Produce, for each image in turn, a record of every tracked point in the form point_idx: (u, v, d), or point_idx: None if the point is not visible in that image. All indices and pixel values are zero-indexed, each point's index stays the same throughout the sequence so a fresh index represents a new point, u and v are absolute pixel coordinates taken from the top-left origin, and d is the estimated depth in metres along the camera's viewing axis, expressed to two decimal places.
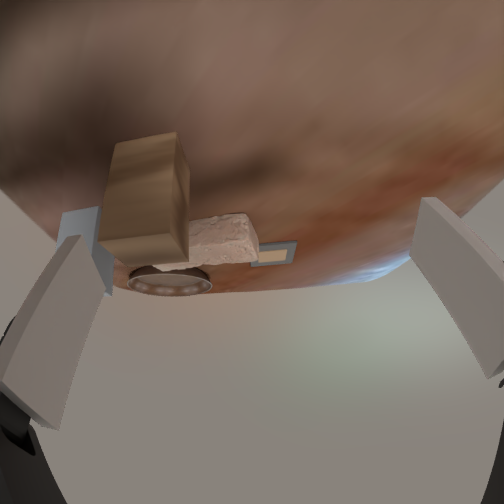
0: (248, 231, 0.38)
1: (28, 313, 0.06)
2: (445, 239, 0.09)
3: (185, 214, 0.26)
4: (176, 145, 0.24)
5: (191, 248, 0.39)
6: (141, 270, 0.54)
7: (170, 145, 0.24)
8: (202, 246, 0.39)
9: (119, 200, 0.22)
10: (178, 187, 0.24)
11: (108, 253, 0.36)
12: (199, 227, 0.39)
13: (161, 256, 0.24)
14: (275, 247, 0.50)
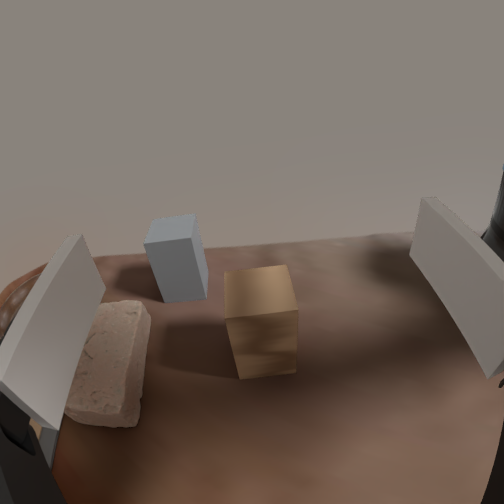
0: (124, 418, 0.23)
1: (28, 313, 0.06)
2: (445, 239, 0.09)
3: (247, 345, 0.26)
4: (292, 366, 0.29)
5: (128, 349, 0.29)
6: None
7: None
8: (126, 362, 0.28)
9: None
10: (277, 349, 0.27)
11: (167, 275, 0.37)
12: (140, 373, 0.29)
13: (245, 298, 0.25)
14: (46, 441, 0.22)
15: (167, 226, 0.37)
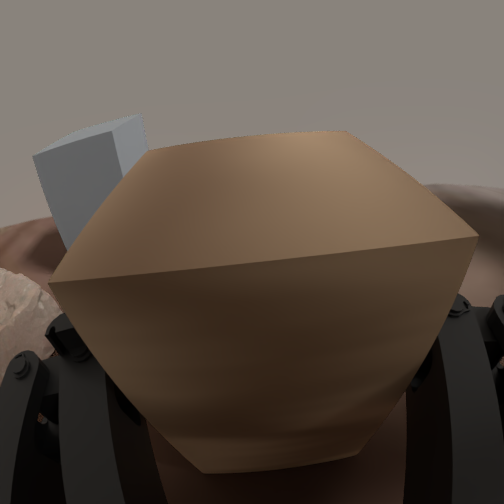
0: None
1: None
2: None
3: (205, 417, 0.06)
4: (352, 447, 0.08)
5: None
6: None
7: None
8: None
9: None
10: (326, 422, 0.06)
11: (77, 223, 0.17)
12: None
13: (190, 197, 0.05)
14: None
15: (85, 131, 0.17)
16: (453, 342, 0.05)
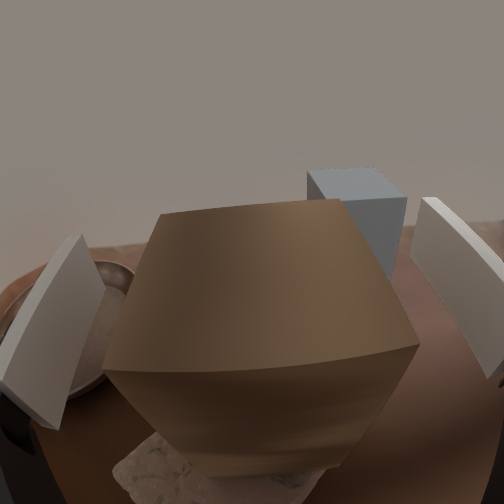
0: None
1: (28, 313, 0.06)
2: (445, 239, 0.09)
3: (212, 441, 0.07)
4: (333, 462, 0.10)
5: None
6: None
7: None
8: (304, 480, 0.11)
9: None
10: (306, 445, 0.08)
11: None
12: None
13: (201, 294, 0.06)
14: None
15: (346, 180, 0.21)
16: None
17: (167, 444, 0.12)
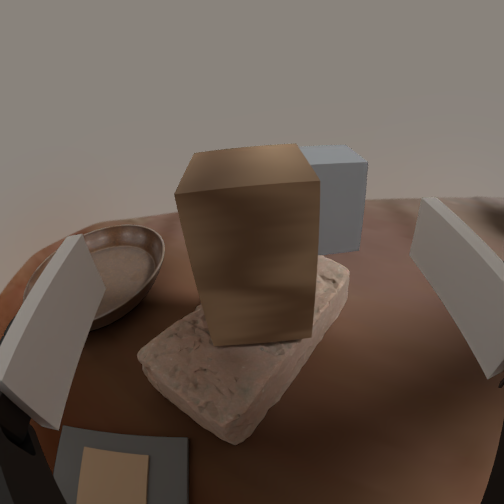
0: (225, 434, 0.14)
1: (28, 313, 0.06)
2: (445, 239, 0.09)
3: (221, 267, 0.14)
4: (305, 324, 0.17)
5: None
6: (157, 252, 0.32)
7: None
8: (286, 351, 0.17)
9: None
10: (279, 281, 0.15)
11: (324, 215, 0.28)
12: (294, 373, 0.19)
13: (220, 172, 0.13)
14: (167, 498, 0.12)
15: (322, 152, 0.28)
16: None
17: (182, 330, 0.19)
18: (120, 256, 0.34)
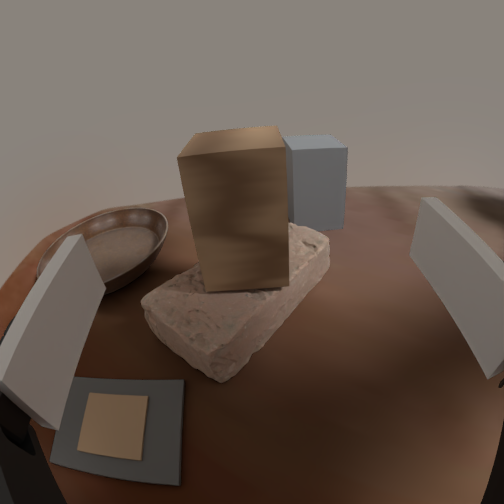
0: (210, 365, 0.18)
1: (28, 313, 0.06)
2: (445, 239, 0.09)
3: (212, 216, 0.18)
4: (282, 272, 0.20)
5: None
6: (161, 230, 0.36)
7: None
8: (267, 297, 0.21)
9: None
10: (258, 229, 0.19)
11: (309, 194, 0.32)
12: (276, 322, 0.22)
13: (213, 144, 0.17)
14: (162, 435, 0.16)
15: (307, 140, 0.32)
16: None
17: (181, 281, 0.23)
18: (127, 235, 0.37)
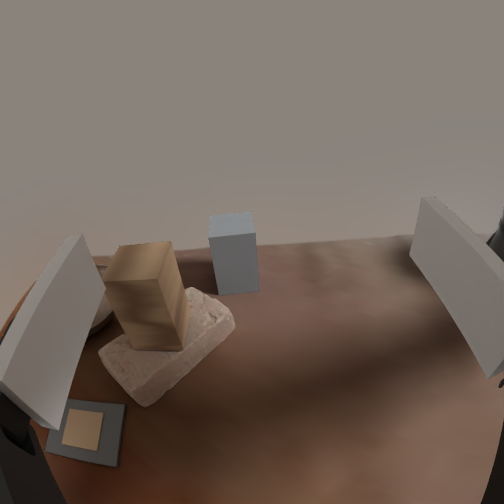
0: (134, 397, 0.27)
1: (28, 313, 0.06)
2: (445, 239, 0.09)
3: (126, 312, 0.27)
4: (176, 342, 0.30)
5: None
6: None
7: (180, 337, 0.30)
8: (172, 357, 0.30)
9: (175, 276, 0.30)
10: (154, 319, 0.28)
11: (227, 268, 0.41)
12: (182, 371, 0.32)
13: (122, 267, 0.27)
14: (109, 437, 0.25)
15: (227, 222, 0.41)
16: None
17: (123, 340, 0.32)
18: None
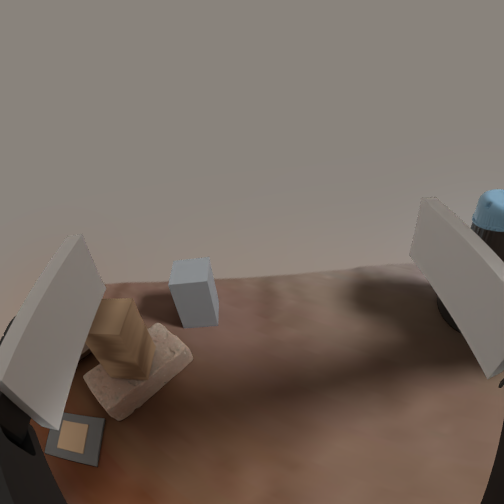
0: (109, 414, 0.33)
1: (28, 313, 0.06)
2: (445, 239, 0.09)
3: (101, 353, 0.33)
4: (141, 375, 0.35)
5: None
6: None
7: (144, 371, 0.36)
8: (137, 384, 0.36)
9: (138, 325, 0.36)
10: (122, 359, 0.33)
11: (187, 308, 0.47)
12: (147, 394, 0.37)
13: (95, 321, 0.32)
14: (92, 443, 0.31)
15: (186, 269, 0.46)
16: None
17: (102, 367, 0.38)
18: None
